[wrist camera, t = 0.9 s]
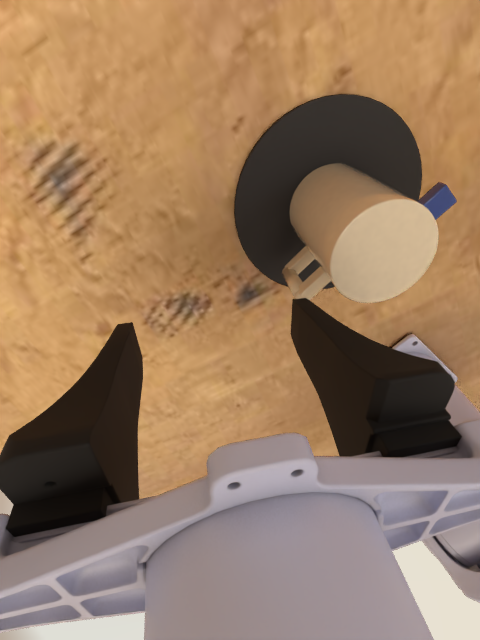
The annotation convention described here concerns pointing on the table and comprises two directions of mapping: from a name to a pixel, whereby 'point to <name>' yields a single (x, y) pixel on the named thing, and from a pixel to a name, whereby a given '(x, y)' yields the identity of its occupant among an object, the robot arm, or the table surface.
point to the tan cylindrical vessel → (362, 234)
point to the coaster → (306, 156)
